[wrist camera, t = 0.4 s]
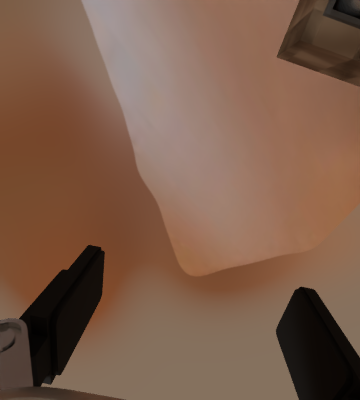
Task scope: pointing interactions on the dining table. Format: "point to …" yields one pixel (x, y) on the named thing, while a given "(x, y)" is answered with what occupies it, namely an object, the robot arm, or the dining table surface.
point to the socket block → (324, 40)
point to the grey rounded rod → (348, 7)
